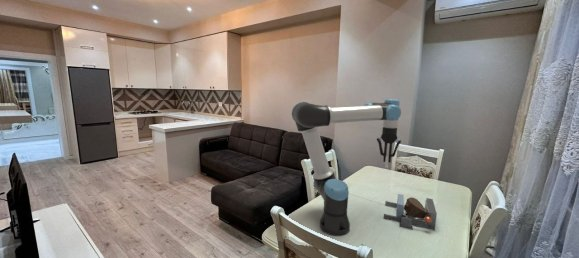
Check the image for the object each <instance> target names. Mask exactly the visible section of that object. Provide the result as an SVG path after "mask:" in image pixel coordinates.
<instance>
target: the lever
mask: <svg viewBox="0 0 579 258" xmlns="http://www.w3.org/2000/svg"><path fill="white" fill-rule="evenodd" d="M405 217H406V218H411V219H412V220H415V221H420V222H425V223H431V222H432V219H431V218H430V217H428V216H427V217H425V218H415V217H408V216H405Z"/></svg>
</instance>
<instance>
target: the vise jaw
mask: <svg viewBox="0 0 579 258" xmlns="http://www.w3.org/2000/svg"><path fill="white" fill-rule="evenodd" d="M396 203H397V208H396V210H395V211H396V213H395V214H396V215H395V216H397V217H401V214H403V215H405V213H404V212H405V210H404V205H405V196H404V194H402V193H397V199H396Z"/></svg>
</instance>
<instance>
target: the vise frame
mask: <svg viewBox="0 0 579 258" xmlns="http://www.w3.org/2000/svg"><path fill="white" fill-rule="evenodd" d="M384 205H385V206H386V207H391V208H395V209H397V202H393V201H388V200H385V204H384ZM404 206H405V204H404ZM424 208H425V209H426V210H427V215H426V217H427V216H428V217H430V218H431V219H432V222H431V223H426V222H425V221H421V220H412V219H411V218H406V217H405V216H408V215H406V214H404V215H403V214H401V217H397V216H396V215H392V214H388V213H387V214H386V213H383V218H382V219H383V220H388V221H392V222H396V223H399V228H402V229H407V230H410V231H413V226H414V227H419V228H423V229H427V230H431V231H436V230H435V229H436V221H437V214H438V213H437V210H436V207H435V203H434V200H433V198H429V197H426V198H425V202H424ZM408 217H412V216H408Z"/></svg>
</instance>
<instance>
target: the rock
mask: <svg viewBox="0 0 579 258" xmlns="http://www.w3.org/2000/svg"><path fill="white" fill-rule="evenodd" d="M404 205H405V206H404V212H405V215H408V216H412V217H415V218H425V217H426V215H427V210H426V209H425V206H424V205H423V204H422V203H421V201H420V200H419V199H417V198H415V197H408V198H406V202H405V203H404Z"/></svg>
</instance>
